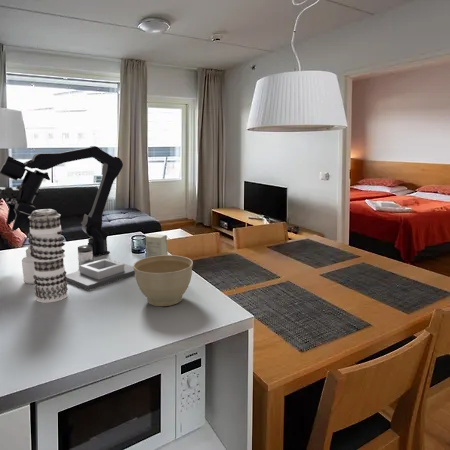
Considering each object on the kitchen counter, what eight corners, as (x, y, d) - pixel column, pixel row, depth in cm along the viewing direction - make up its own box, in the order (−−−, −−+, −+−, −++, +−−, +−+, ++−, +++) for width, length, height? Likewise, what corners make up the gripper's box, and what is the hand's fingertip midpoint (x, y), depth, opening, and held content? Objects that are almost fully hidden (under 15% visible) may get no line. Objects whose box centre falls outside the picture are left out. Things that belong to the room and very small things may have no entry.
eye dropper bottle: (29, 286, 115) (25, 248, 113) (22, 281, 119) (18, 245, 116) (44, 282, 118) (40, 245, 116) (37, 278, 122) (33, 242, 120)
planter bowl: (172, 285, 117) (171, 251, 115) (204, 301, 105) (204, 264, 103) (124, 298, 107) (122, 261, 104) (154, 318, 95) (153, 277, 92)
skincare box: (168, 268, 132) (167, 234, 130) (162, 272, 128) (161, 237, 126) (152, 266, 134) (151, 233, 132) (146, 270, 130) (144, 236, 128)
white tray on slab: (114, 264, 136) (114, 254, 135) (140, 272, 128) (140, 261, 127) (62, 280, 121) (61, 268, 120) (88, 290, 112) (87, 277, 111)
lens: (88, 262, 138) (86, 244, 137) (96, 265, 135) (94, 246, 134) (76, 266, 134) (74, 247, 133) (84, 268, 132) (82, 249, 130)
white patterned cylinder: (55, 288, 114) (48, 206, 108) (76, 294, 109) (69, 209, 104) (27, 298, 106) (17, 211, 101) (48, 305, 101) (39, 214, 96)
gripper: (0, 173, 134) (-19, 213, 133) (12, 180, 120) (-10, 225, 119) (31, 185, 141) (13, 223, 140) (46, 194, 128) (26, 236, 127)
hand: (10, 226), depth 131 cm, fingers open, 9 cm apart
